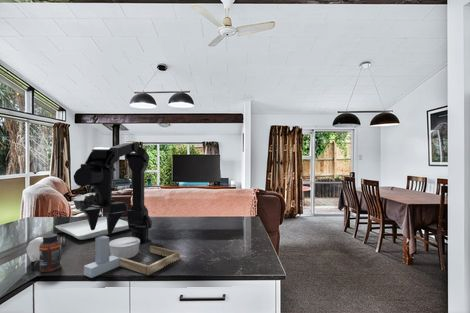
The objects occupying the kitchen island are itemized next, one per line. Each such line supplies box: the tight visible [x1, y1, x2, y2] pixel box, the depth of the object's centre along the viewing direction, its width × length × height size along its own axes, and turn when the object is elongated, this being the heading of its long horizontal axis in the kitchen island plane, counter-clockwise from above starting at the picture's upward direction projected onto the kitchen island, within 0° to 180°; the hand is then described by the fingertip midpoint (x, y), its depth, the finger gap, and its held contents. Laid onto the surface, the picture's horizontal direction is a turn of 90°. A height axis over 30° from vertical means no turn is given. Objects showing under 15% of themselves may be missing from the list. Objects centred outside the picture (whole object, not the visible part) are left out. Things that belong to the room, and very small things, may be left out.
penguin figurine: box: [25, 236, 43, 262], centre depth 97 cm, size 6×8×12 cm
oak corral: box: [118, 245, 181, 276], centre depth 93 cm, size 15×14×2 cm
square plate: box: [54, 216, 130, 241], centre depth 131 cm, size 27×27×4 cm
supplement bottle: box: [39, 233, 62, 273], centre depth 87 cm, size 6×6×11 cm
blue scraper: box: [83, 235, 120, 279], centre depth 86 cm, size 4×10×11 cm, turn 151°
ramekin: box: [109, 236, 141, 260], centre depth 100 cm, size 11×11×5 cm
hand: (101, 231), depth 86 cm, fingers open, 9 cm apart
